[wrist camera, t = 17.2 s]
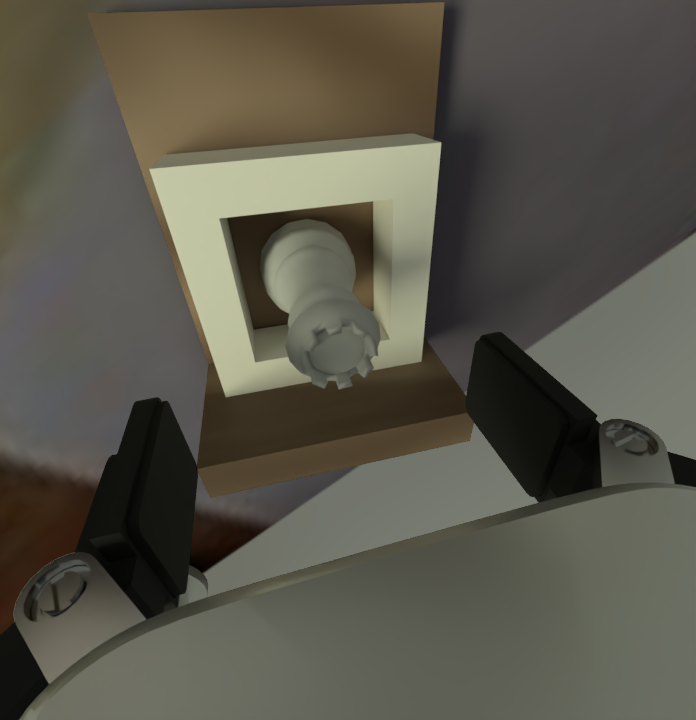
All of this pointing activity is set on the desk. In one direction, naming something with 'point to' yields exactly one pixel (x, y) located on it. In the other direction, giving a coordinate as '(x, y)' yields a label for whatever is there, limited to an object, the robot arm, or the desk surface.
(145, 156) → the wooden bookend
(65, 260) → the desk surface
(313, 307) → the rook chess piece
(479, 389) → the robot arm
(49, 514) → the desk surface
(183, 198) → the socket block
